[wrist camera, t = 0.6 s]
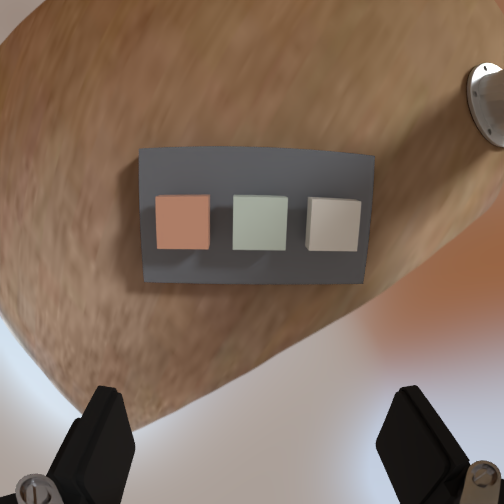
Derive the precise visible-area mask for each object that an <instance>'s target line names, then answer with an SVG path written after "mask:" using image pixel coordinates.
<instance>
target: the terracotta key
mask: <svg viewBox="0 0 504 504" xmlns="http://www.w3.org/2000/svg"><path fill="white" fill-rule="evenodd" d="M155 203H156V234H157V249H209V246H210V195H159V196H156V197H155Z"/></svg>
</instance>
